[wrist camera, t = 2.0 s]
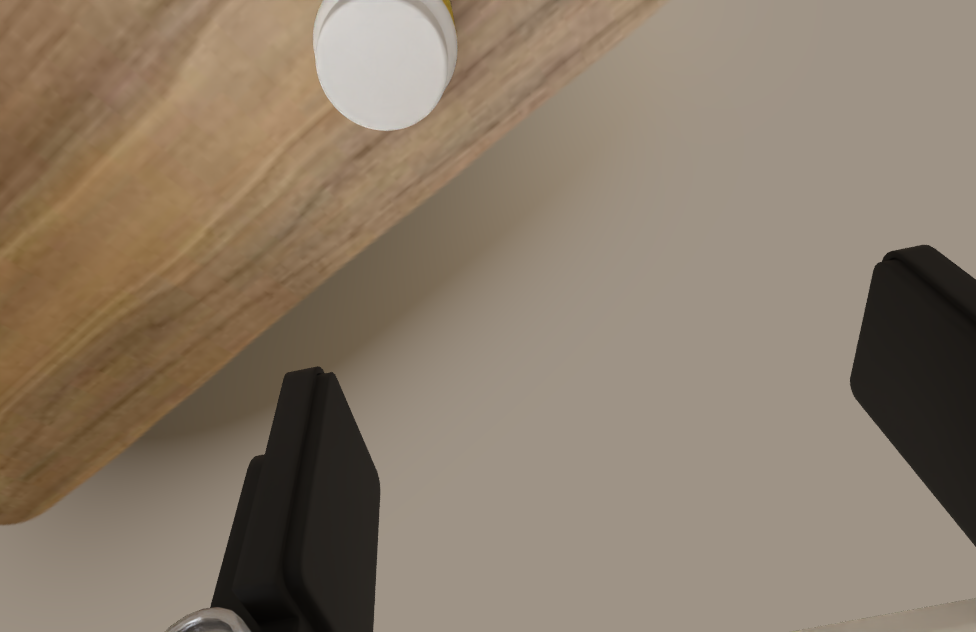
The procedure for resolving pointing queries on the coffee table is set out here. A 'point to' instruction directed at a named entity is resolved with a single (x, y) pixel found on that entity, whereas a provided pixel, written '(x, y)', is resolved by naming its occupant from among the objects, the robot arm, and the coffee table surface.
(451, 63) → the supplement bottle
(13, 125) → the coffee table surface
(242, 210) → the coffee table surface
